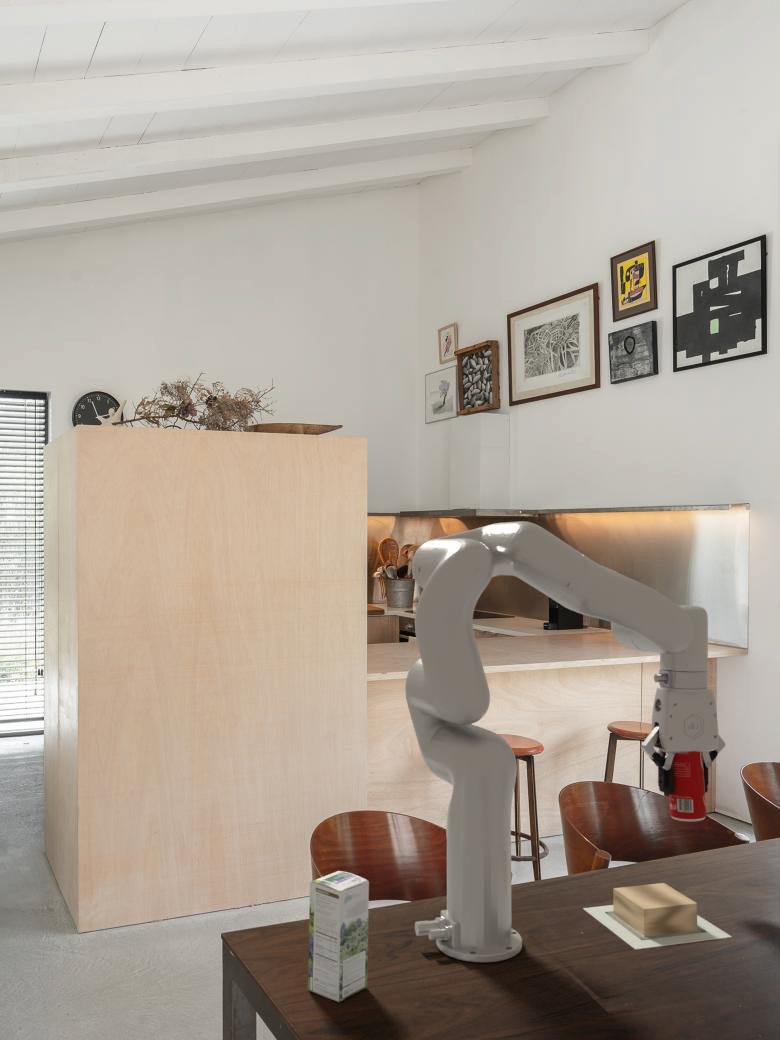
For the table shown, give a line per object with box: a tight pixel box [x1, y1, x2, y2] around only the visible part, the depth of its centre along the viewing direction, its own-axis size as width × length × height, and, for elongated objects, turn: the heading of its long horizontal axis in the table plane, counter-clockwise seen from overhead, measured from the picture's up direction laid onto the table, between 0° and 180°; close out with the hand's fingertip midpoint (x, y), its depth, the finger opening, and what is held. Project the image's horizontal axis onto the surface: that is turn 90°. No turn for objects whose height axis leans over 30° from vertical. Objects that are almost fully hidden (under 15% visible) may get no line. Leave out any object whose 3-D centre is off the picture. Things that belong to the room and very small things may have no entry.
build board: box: [582, 904, 732, 951], centre depth 143 cm, size 16×16×1 cm
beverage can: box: [668, 751, 707, 822], centre depth 153 cm, size 6×6×15 cm
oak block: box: [612, 882, 698, 937], centre depth 144 cm, size 9×9×4 cm
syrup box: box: [307, 870, 370, 1003], centre depth 124 cm, size 6×6×14 cm
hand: (683, 790), depth 153 cm, fingers closed on beverage can, 5 cm apart
